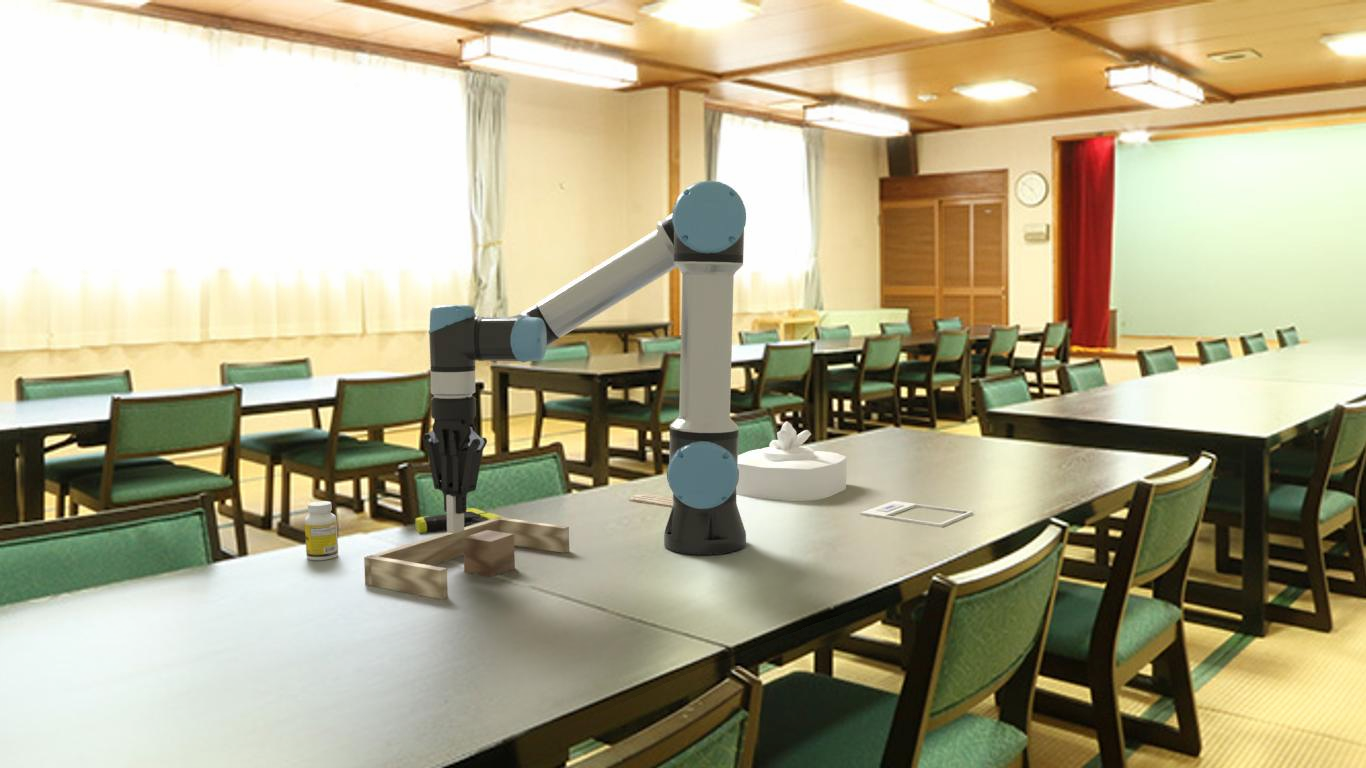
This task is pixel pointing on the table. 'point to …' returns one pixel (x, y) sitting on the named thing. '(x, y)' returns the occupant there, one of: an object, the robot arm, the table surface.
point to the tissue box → (790, 470)
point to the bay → (451, 555)
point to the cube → (489, 553)
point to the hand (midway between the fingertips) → (455, 531)
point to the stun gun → (440, 521)
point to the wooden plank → (652, 499)
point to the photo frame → (897, 507)
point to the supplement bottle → (321, 531)
